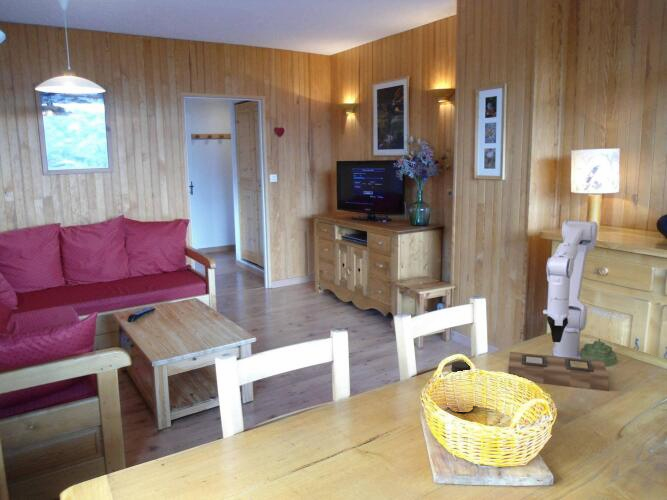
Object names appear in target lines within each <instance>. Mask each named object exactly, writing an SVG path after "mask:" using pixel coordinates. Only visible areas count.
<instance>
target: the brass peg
mask: <svg viewBox="0 0 667 500" xmlns="http://www.w3.org/2000/svg"><path fill="white" fill-rule="evenodd" d="M569 366H570V367H576V368H586V369H588V366H587V362H577V361H570V365H569Z"/></svg>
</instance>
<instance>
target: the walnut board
mask: <svg viewBox="0 0 667 500" xmlns="http://www.w3.org/2000/svg"><path fill="white" fill-rule="evenodd" d="M526 356H527V357H537V358H542V364H537V363H527V362H526ZM570 361H577V362H587V366H588V369H586V368H576V367H570V366H569V365H570ZM507 366H508V367H507V369H508V370H507V374H508V373H509V374H513V375H517V376H519V377H523V378H526V379H528V380H531V381H533V382H535V383H534V384H541V385H551V386H558V387H559V386H561V387H569V388H578V389H585V390H596V391H603V392H608V391H609V379H610V377H609V374H608V371H607V369H606V367H605V365H604V362H603V361H600V360H589V359H579V358H569V357H558V356H553V355H546V354H539V353H538V354H535V353H527V352H525V353H524V352H516V351H509V358H508V365H507ZM533 382H532V383H533Z"/></svg>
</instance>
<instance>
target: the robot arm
mask: <svg viewBox="0 0 667 500" xmlns="http://www.w3.org/2000/svg"><path fill="white" fill-rule="evenodd" d="M561 225H562V227H561V237H562V241H563V242H561V243H559V245H558V246H557V248H556V250H555V252H554V254H553V255H552V256H551V257H548V258H547V261H546V262H547V263H546V275H547V276H546V280H547V281H546V282H548V284H547V285H548V287H547V288H548V289H547V309H543V311H542V313H543V314H544V315H547V317H546V320H547V323H548V326H549V328H550V335H551V341H552V342H553V343H554V346H552V354H553V355H552V356H558V357H569V358H579V359H581V351H580V343H581V342H580V341H581V340H580V339H581V331H584V330H585V329H586V326H587V321H588V320H587V318H588V316H587V314H588V309H587V306H586V305H585V303H583V301H581V300H580V298H581V291H582V286H583V285H582V284H583V278H584V272H585V266H586V261H587V256H588V254H589V252H591V251H593V250H595V247H596V244H597V238H598V230H599V229H598V228H599V227H598V226H599V225H598V223H597V221H583V220H582V221H580V220H579V221H578V220H568V219H565V220H564V221H563V223H562V224H561Z"/></svg>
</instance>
